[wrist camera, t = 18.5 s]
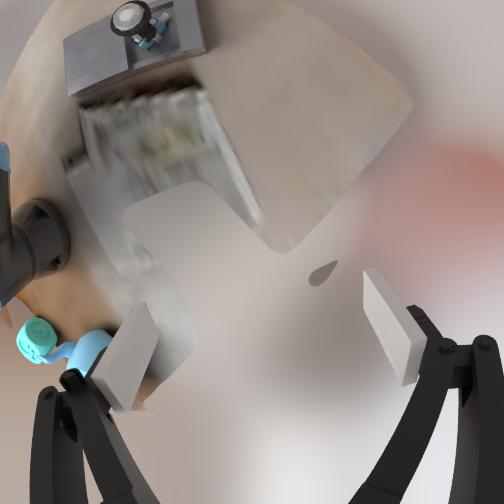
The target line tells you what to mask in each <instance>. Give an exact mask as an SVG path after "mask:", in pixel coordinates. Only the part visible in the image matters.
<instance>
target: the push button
mask: <svg viewBox="0 0 504 504" xmlns="http://www.w3.org/2000/svg"><path fill="white" fill-rule="evenodd" d="M142 8H143V9H144V10H145V12H144V11H143V9H142ZM163 15H165V17H163ZM163 15H162V16H161V17H160V18H158V19H155V18H153V17H152V16H151V11H150V8H149V6H148V5H147V4H146V3H145V2H143V1H139V0H134V1H130V2H127V3H125V4H123V5H122V6H120V7H119V8H118V9H117V10H116V11H115V13H114V14H113V16H112V18H111V21H110V27H111V30H112V31H113V33H115V34H116V35H118V36H124V37H131V36H132V37H133V39H132V40H131V41H132V42H133V43H135V44H136V45H138V46H140V47H141V48H143V49H145V50H148V49H149V48H150V46H151V45H152V44H153V43H154V41H156V42H158V41H159V40H160V39H161V36H160V34H161V33H162V32H163V31H164V30H165V28H166V26H165V25H164V24H165V23H166V21H167V20H168V19H169V17H170V16H168V14H167V13H164V14H163ZM166 17H167V19H165V18H166ZM120 30H123V31H125V32H122V31H120ZM158 38H159V39H158ZM157 39H158V40H157Z"/></svg>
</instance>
